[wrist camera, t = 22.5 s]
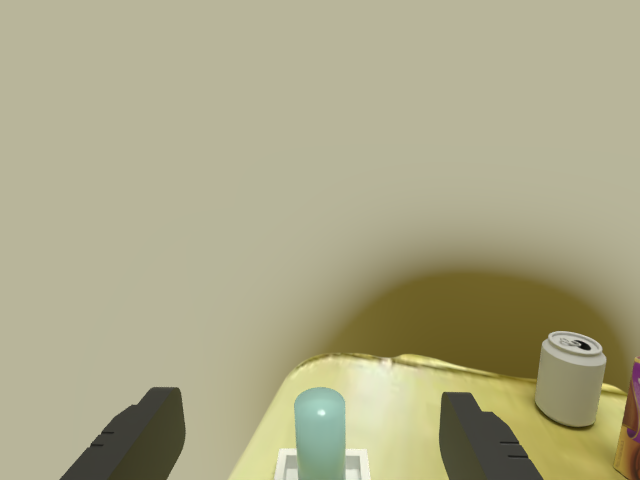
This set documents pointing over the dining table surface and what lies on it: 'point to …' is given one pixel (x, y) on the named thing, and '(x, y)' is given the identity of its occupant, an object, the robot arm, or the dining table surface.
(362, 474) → the tray
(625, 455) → the candy box
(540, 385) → the can
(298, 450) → the pale green cylinder
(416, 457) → the dining table surface
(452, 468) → the robot arm
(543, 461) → the dining table surface
